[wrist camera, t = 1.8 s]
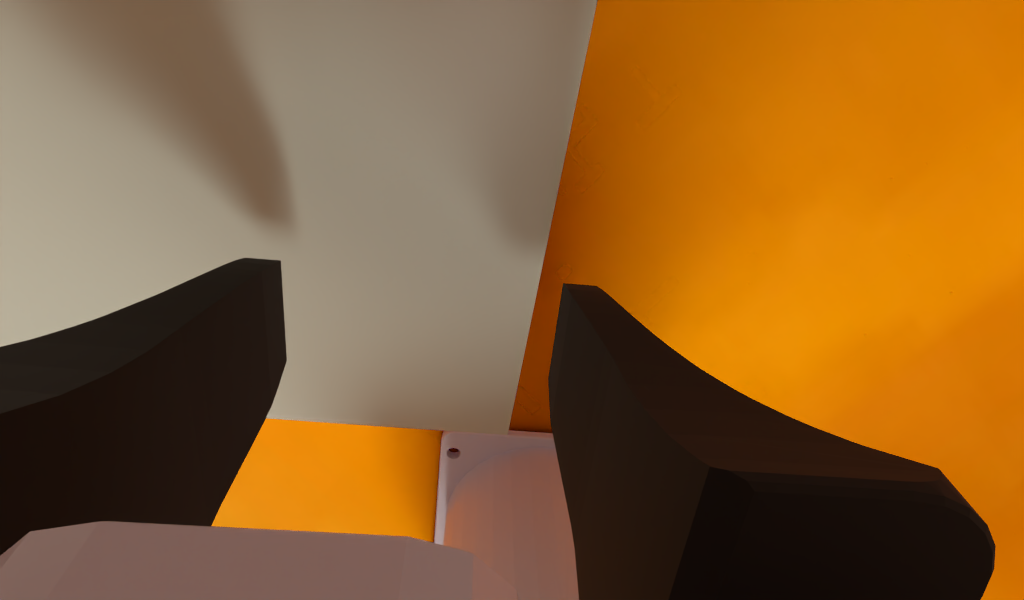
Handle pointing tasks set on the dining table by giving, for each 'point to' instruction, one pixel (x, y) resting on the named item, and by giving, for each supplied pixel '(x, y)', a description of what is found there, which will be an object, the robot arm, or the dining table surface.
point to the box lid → (298, 180)
